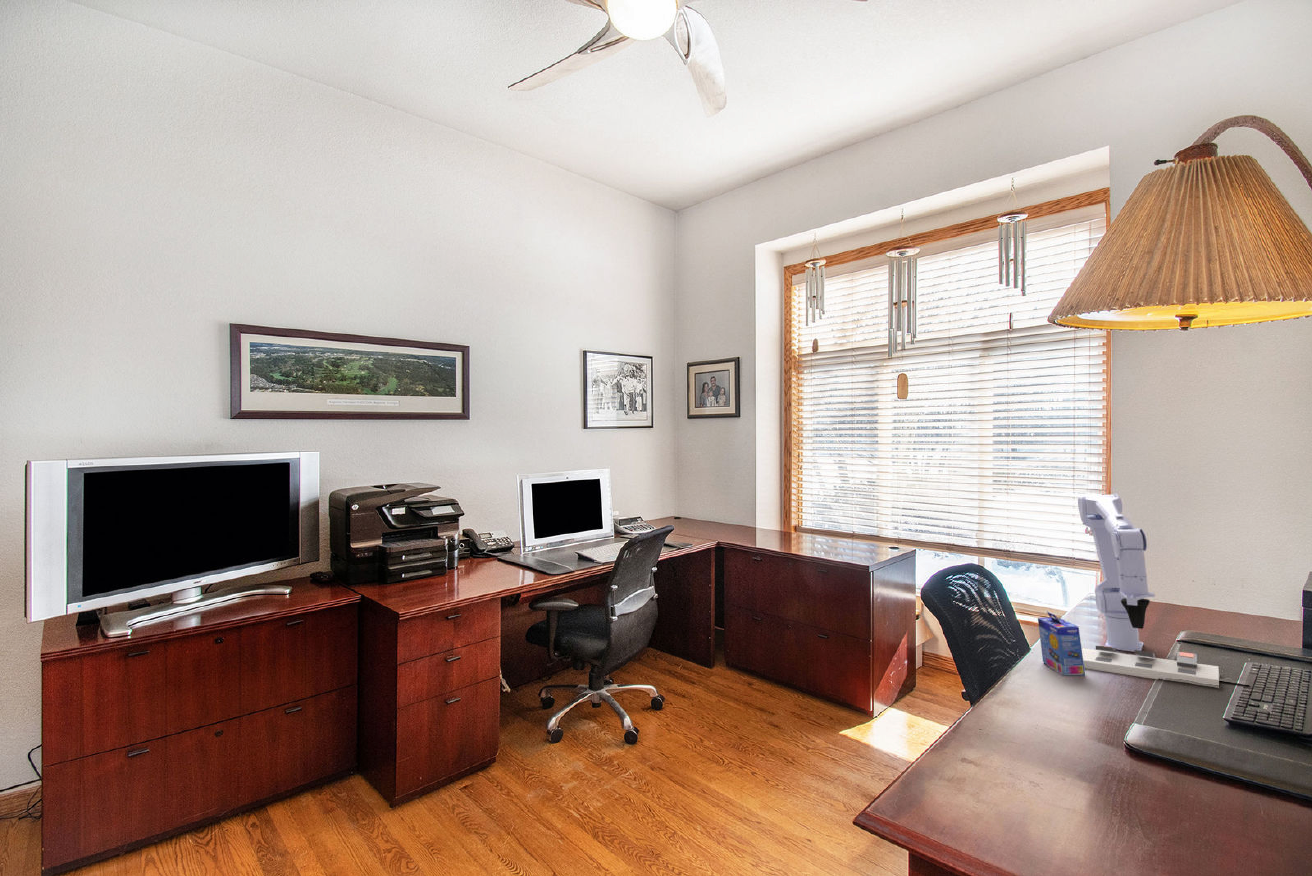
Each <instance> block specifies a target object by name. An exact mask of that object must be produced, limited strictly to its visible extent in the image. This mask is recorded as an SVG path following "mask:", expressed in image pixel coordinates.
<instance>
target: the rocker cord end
mask: <svg viewBox="0 0 1312 876" xmlns="http://www.w3.org/2000/svg"><path fill="white" fill-rule="evenodd" d="M1176 661H1177V666H1183V667H1190V668H1197V664H1198V655H1197V653H1193V652H1182V651H1176Z"/></svg>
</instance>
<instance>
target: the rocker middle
mask: <svg viewBox="0 0 1312 876" xmlns="http://www.w3.org/2000/svg"><path fill="white" fill-rule="evenodd" d="M1134 651H1135V652H1134V655H1137V656H1145V657H1152V658H1156V654H1155V653H1154V652H1153V651H1145V650H1141V651H1139V650H1134Z"/></svg>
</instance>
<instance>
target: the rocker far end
mask: <svg viewBox="0 0 1312 876" xmlns="http://www.w3.org/2000/svg"><path fill="white" fill-rule="evenodd" d="M1095 650H1100V651H1108V652H1115V653H1117V649H1116V648H1113V647H1107V646H1105V645H1095Z"/></svg>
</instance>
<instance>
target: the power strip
mask: <svg viewBox="0 0 1312 876" xmlns="http://www.w3.org/2000/svg"><path fill="white" fill-rule="evenodd" d="M1082 655H1083V662H1084V669H1089V670H1093V671H1100V672H1107V673H1114V674H1119V675H1126V676H1133V677H1139V678H1147V679H1152V680H1153V679H1154V680H1158V678H1159V677H1163V678H1172V679H1183V680H1189V681H1194V682H1198V683H1203V684H1212V685H1219V678H1221V679H1230V680H1231V679H1232V678H1227V677H1221V676H1220V667H1219V666H1218V665H1211V664H1210V665H1209V664H1204V663H1203V664H1202V663H1197V668H1190V667H1183V666H1177V660H1173V659H1166V658H1159V657H1155V658H1152V657H1145V656H1138V655H1135V654H1130V653H1128V654H1127V653H1121V652H1111V651H1103V650H1096V649H1092V648H1084V647H1082Z"/></svg>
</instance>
